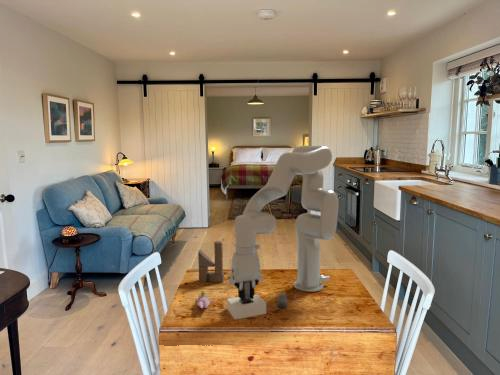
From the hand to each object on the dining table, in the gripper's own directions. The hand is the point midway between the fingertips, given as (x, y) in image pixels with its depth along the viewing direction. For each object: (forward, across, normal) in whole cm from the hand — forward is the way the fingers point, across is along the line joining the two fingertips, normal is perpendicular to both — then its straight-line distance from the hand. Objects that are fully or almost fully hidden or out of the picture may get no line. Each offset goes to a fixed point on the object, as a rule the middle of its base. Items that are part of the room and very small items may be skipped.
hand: (246, 297), depth 138 cm
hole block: (+5, 0, 0) cm, 5 cm away
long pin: (+3, 0, 0) cm, 3 cm away
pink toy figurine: (+6, +14, -10) cm, 18 cm away
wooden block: (+5, +4, -34) cm, 35 cm away
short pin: (+5, -14, +2) cm, 15 cm away
